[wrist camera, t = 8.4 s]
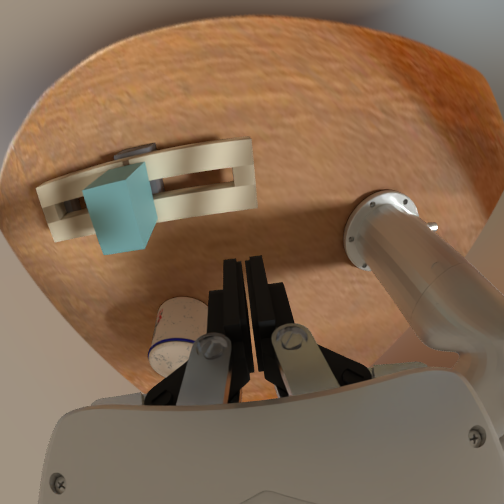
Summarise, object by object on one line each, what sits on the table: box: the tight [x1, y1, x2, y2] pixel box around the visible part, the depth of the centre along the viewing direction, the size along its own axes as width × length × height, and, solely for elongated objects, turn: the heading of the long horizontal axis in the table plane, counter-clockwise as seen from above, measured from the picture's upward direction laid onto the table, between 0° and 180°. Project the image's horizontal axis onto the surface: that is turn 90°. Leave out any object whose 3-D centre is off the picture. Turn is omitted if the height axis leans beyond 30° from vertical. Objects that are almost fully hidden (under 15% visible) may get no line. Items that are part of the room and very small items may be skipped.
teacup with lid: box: [148, 297, 208, 378], centre depth 37 cm, size 12×9×12 cm
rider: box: [82, 162, 158, 255], centre depth 23 cm, size 4×6×8 cm, turn 5°
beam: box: [36, 136, 258, 242], centre depth 27 cm, size 24×8×5 cm, turn 95°
